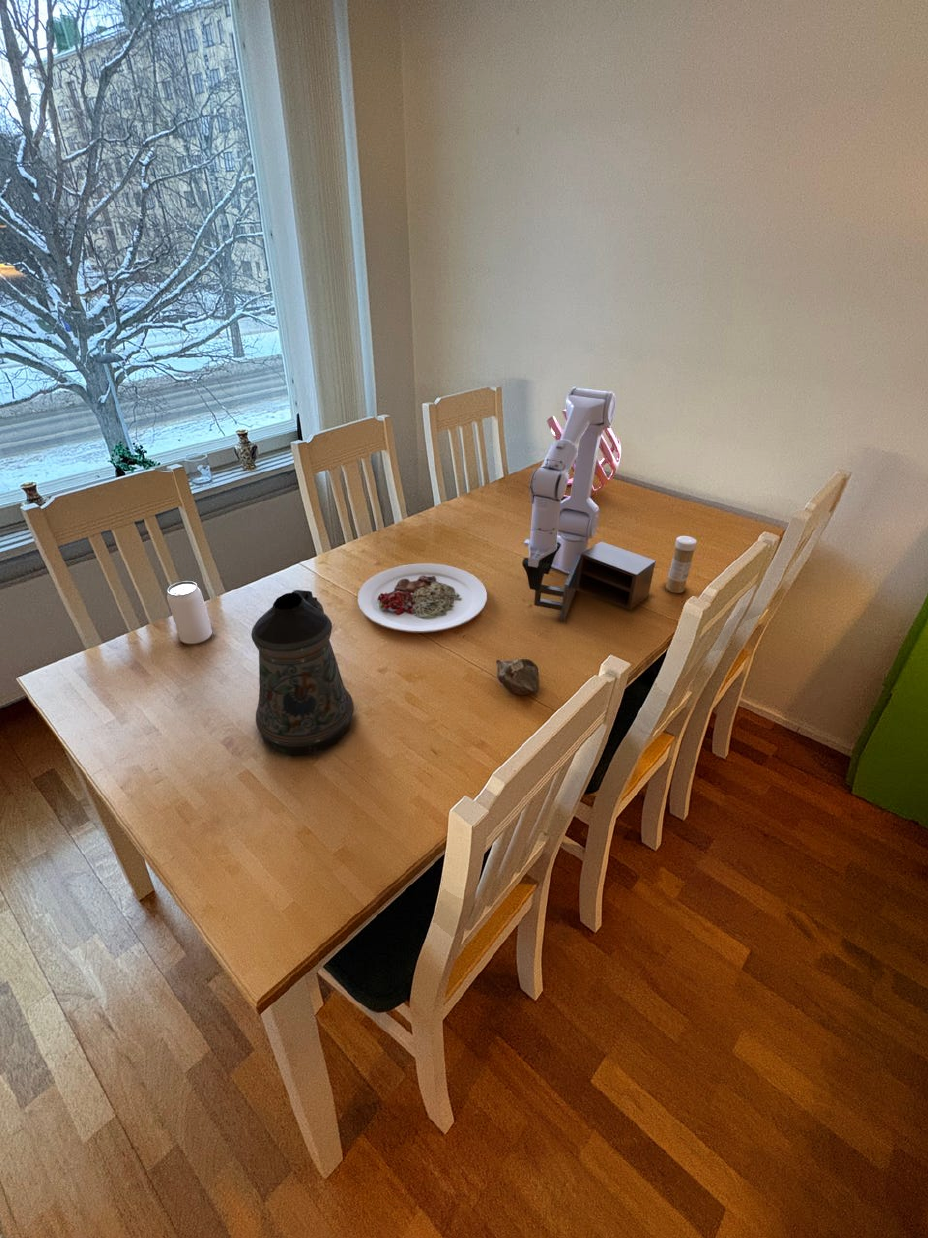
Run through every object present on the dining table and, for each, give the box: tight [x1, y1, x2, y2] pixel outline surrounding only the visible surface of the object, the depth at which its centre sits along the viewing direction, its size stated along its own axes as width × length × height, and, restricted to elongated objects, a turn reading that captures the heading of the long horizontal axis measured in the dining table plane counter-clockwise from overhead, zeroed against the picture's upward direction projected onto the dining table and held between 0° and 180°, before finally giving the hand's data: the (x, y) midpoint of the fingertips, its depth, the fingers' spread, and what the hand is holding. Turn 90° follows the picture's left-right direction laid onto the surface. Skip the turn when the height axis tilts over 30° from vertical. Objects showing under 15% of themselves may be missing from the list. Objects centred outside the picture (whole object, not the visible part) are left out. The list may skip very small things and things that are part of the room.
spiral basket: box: [546, 409, 622, 499], centre depth 189 cm, size 28×28×27 cm
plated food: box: [357, 562, 488, 633], centre depth 138 cm, size 30×30×3 cm
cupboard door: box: [533, 555, 581, 622], centre depth 137 cm, size 8×15×9 cm, turn 160°
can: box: [166, 580, 213, 645], centre depth 123 cm, size 6×6×12 cm
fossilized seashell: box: [495, 657, 540, 695], centre depth 113 cm, size 8×7×10 cm
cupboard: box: [576, 541, 657, 611], centre depth 141 cm, size 9×15×10 cm, turn 48°
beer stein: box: [251, 589, 355, 757], centre depth 99 cm, size 16×19×25 cm
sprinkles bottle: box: [665, 535, 698, 594], centre depth 141 cm, size 5×5×14 cm
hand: (539, 580), depth 132 cm, fingers open, 7 cm apart
